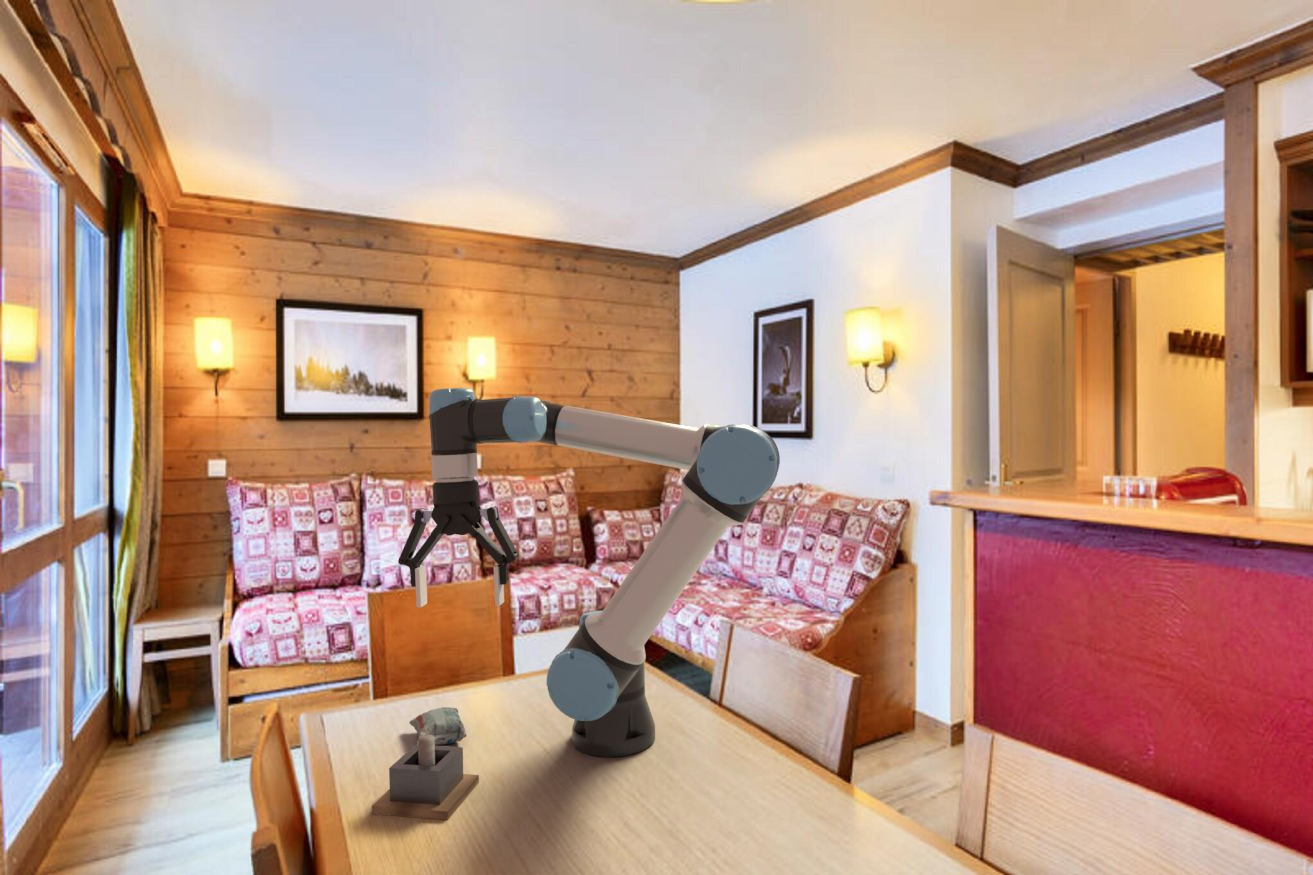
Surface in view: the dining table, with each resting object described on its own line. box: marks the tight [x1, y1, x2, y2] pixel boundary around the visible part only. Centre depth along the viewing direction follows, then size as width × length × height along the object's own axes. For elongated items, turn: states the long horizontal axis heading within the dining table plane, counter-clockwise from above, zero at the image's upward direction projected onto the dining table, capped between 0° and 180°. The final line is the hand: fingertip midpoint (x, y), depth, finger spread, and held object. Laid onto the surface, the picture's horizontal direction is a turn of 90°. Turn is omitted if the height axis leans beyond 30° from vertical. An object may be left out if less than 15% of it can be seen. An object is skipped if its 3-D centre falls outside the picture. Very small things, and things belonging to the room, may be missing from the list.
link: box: [388, 744, 464, 805], centre depth 109 cm, size 8×8×5 cm
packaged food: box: [408, 706, 467, 746], centre depth 130 cm, size 9×12×5 cm
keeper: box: [371, 735, 480, 820], centre depth 109 cm, size 12×11×9 cm
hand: (460, 604), depth 120 cm, fingers open, 13 cm apart
